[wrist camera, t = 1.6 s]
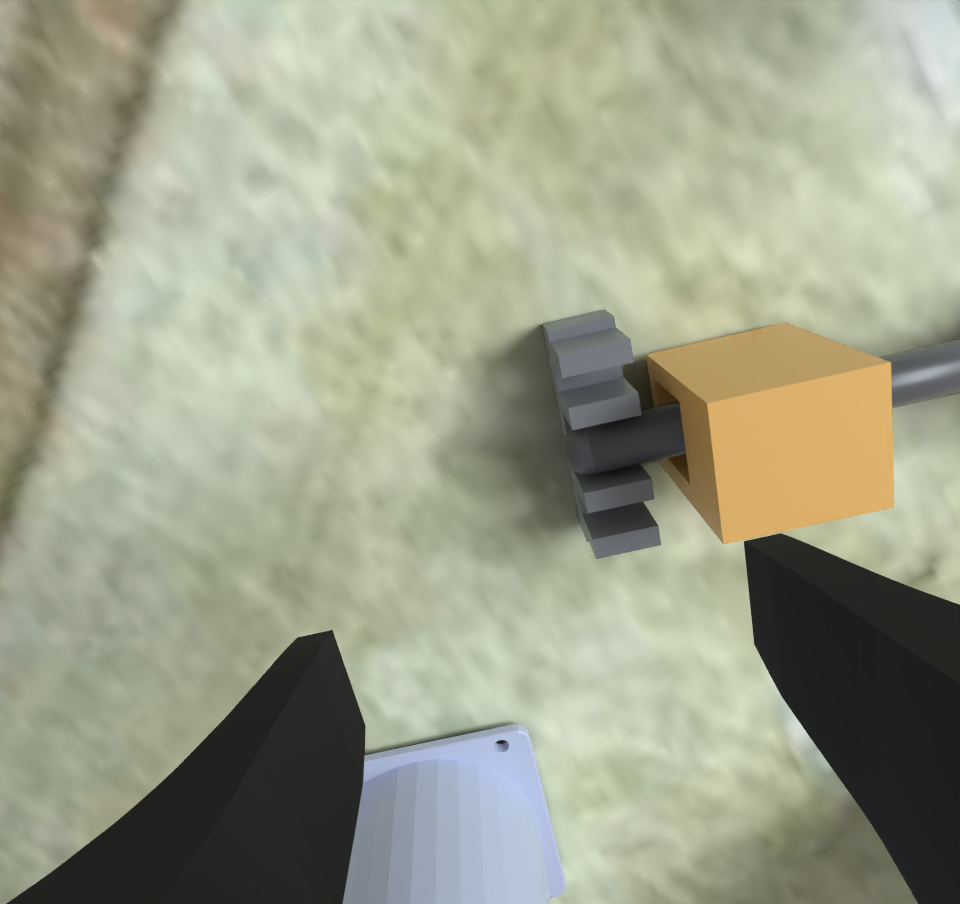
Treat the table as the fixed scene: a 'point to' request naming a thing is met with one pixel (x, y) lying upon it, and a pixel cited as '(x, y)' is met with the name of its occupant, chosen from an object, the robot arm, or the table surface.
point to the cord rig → (657, 423)
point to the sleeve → (778, 429)
